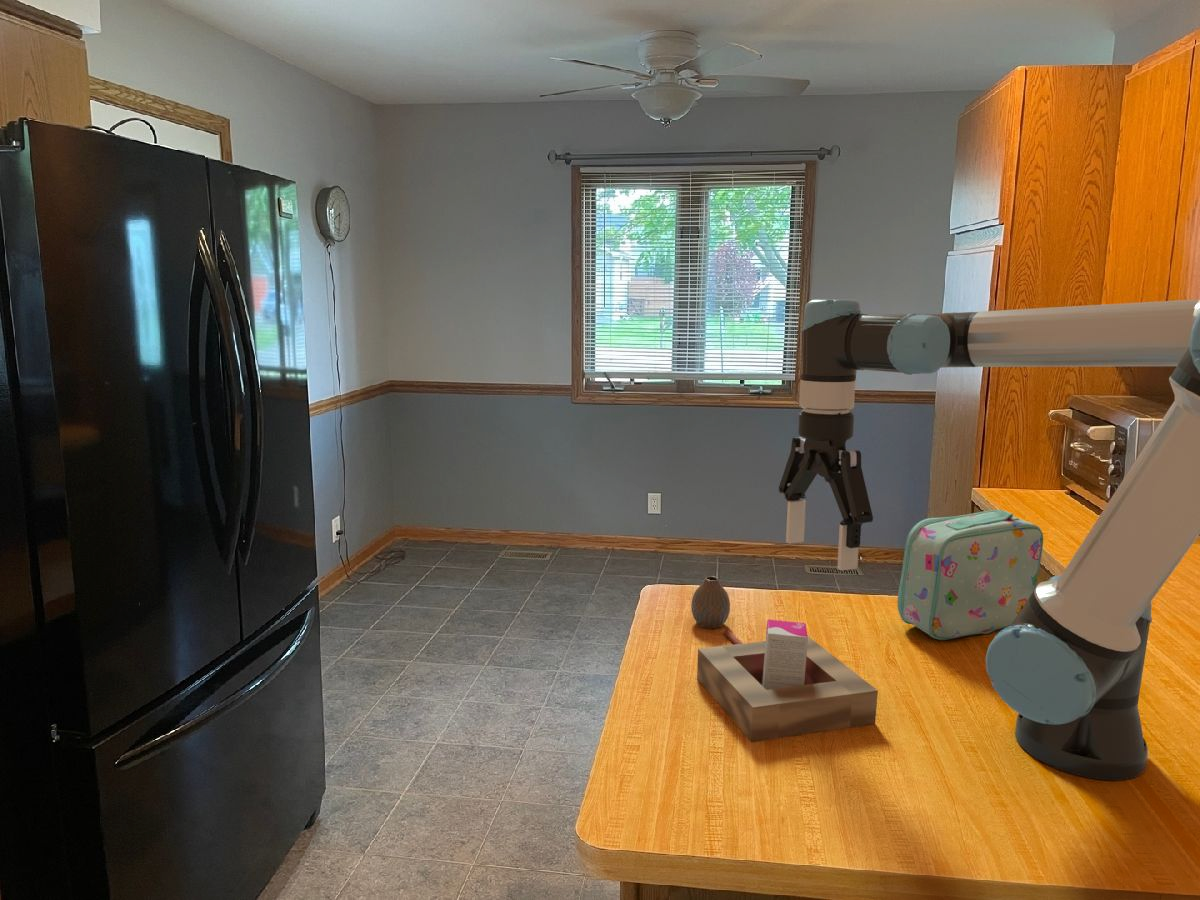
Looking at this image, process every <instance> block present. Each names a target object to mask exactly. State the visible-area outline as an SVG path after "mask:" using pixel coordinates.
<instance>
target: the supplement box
mask: <svg viewBox="0 0 1200 900" xmlns="http://www.w3.org/2000/svg"><path fill="white" fill-rule="evenodd" d="M765 631H766V632H765V633H766V634H765V641H766V643H765V657H764V668H763V681H762V684H761V685H762V686H763V687H764V688H765V689H766V690H770V689H778V688H786V687H793V686H801V685H804V680H805V669H806V655H807V643H808V631H807V625H806V623H805V622H797V621H784V620H777V619H767V621H766V630H765Z"/></svg>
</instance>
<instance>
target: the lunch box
mask: <svg viewBox="0 0 1200 900" xmlns="http://www.w3.org/2000/svg"><path fill="white" fill-rule="evenodd" d="M1043 546H1044V533H1043V531H1042V529H1041V528H1040V527H1039V526H1038V524H1037V525H1036V524H1034V523H1032V522H1030V521H1027V520H1024V519H1020V518H1019V517H1016V516H1014V513H1011V512H1009V511H1006V510H1004V509H999V510H998V509H996V510H995V509H994V510H990V509H989V510H984V511H983V510H982V511H979V512H974V513H968V514H963V515H961V514H960V515H955V516H953V515H952V516H945V517H943V516H942V517H930V518H929V517H927V518H925V519H922V520H920V521H919V522H917V523H915V525H914V526H913V527H911V529H910V531H909V533H908V534H907V537H906V539H905V543H904V553H903V560H902V569H901V573H900V581H899V587H898V593H897V611H898V615H899V616H900V618H901V621H902V622H903V623H905V624H907V625H913V626H914V627H916V628H918V630H919V629H920V630H921V631H922V632H924V633H925V634H927V635H928V636H929V637H931V638H933V639H936V640H940V641H946V640H951V639H955V638H956V639H957V638H960V637H961V638H962V637H966V636H971V635H981V634H982V635H987V634H990V633H992V632H994V631H996V630H1002V629H1004V628H1007V627H1009V626H1010V625H1011V624H1012V623H1013V622H1014V620H1015V619H1016V617H1017V616H1018V614H1019V613H1020V611H1021V609H1022V608H1023V606H1024V605H1025V603H1026V602H1027V600H1028V599H1029V597H1030V596H1031V594H1032V592H1033V591H1034V589H1035V588H1036V586H1037V585H1038V579H1039V572H1040V567H1041V561H1042V555H1043V554H1042V553H1043V548H1044V547H1043Z"/></svg>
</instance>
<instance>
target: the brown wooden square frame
mask: <svg viewBox="0 0 1200 900" xmlns="http://www.w3.org/2000/svg"><path fill="white" fill-rule="evenodd" d="M742 643H743V642H742ZM765 643H766V640H764V641H754V642H746V643H745V642H744V643H743V644H735V643H734V644H727V645H718V646H717V645H716V646H708V647H700V648H697V665H696V666H697V667H696V670H697V671H696V679H697V681H699V683H700V684H701V685H702V686H703V688H704V689H705V690H706V691H707V692H708V693H709V695H710V696H711V697H712V698H713V699H714V701H716V703H717V704H718V705H719V707H720V708H721V709H722V710H723V711H724V712H725V713H726V714H727V715H728V717H729V718H730V719H731V720H732V722H733V723H734V724H735V725H736V726H737V727H738V728H739V730H740V732H742V733H743V734H744V735H745V737H746V738H747V739H748V741H750V742H751V743H752V742H760V741H765V740H773V739H780V738H787V737H793V736H800V735H806V734H814V733H820V732H821V733H822V732H827V731H828V732H829V731H834V730H841V729H848V728H855V727H862V726H868V725H875V724H876V719H877V705H878V694H879V693H878V691H879V690H878V689H877V688H875V687H874V686H873V685H872V684H870V683H868V681H867V680H866V679H864V678H862V677H861V676H860V675H858V674H857V672H855V671H853V670H852V669H851V668H850V667H848V666H847V665H846V664H845V663H843V662H842V661H841V660H839V659H838V658H837V657H835V655H833V654H832V653H831V652H829V651H828V650H827V649H826V648H824V647H823V646H821V645H820V644H819V642H818V643H817V642H816V641H815V640H814V639H812V638H811V637H810V636H808V643H807V655H806V669H805V680H804V685H801V686H793V687H786V688H778V689H770V690H766V689H765V688H764V687H763V686H762V681H763V668H764V657H765Z"/></svg>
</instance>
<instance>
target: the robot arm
mask: <svg viewBox="0 0 1200 900" xmlns="http://www.w3.org/2000/svg"><path fill="white" fill-rule="evenodd" d="M978 367H979V368H980V367H981V368H983V367H984V368H989V367H991V368H992V367H993V368H994V367H995V368H998V367H999V368H1005V367H1006V368H1009V367H1011V368H1012V367H1015V368H1017V367H1020V368H1021V367H1024V368H1025V367H1027V368H1028V367H1033V368H1034V367H1036V368H1037V367H1041V368H1043V367H1051V368H1052V367H1053V368H1055V367H1060V368H1061V367H1067V368H1068V367H1175V368H1174V370H1173V371H1172V373H1171V375H1170V376H1169V378H1168V381H1169V384H1170V386H1171V389H1172V392H1173V394H1174V401H1173V403H1172V404H1171V405H1170V406H1169V409H1168V410H1167V411H1166V413H1165V415H1164V417H1162V420H1161V421H1160V422H1159V423H1158V426H1157V427H1156V429H1155V430H1154V431H1153V433H1152V434H1151V436H1150V438H1149V439H1148V441H1147V443H1145V445H1144V447H1143V449H1142V450H1141V452H1140V453H1139V454H1138V457H1136V459H1135V461H1134V462H1133V464H1132V466H1131V467H1130V468H1129V470H1128V471H1127V473H1126V474H1125V476H1124V477H1123V479H1122V481H1121V482H1120V484H1119V486H1117V489H1116V490H1115V492H1113V494H1112V496H1111V498H1110V499H1109V501H1108V502H1107V504H1106V506H1105V507H1104V508H1103V510H1102V512H1101V513H1100V514H1099V516H1098V517H1097V519H1096V521H1095V522H1094V524H1093V525H1092V527H1091V529H1090V530H1089V532H1087V535H1086V536H1085V537H1084V539H1083V541H1082V543H1081V544H1080V546H1079V547H1078V548H1077V550H1076V552H1075V553H1074V554H1073V556H1072V558H1071V559H1070V561H1069V563H1068V564H1067V565H1066V567H1065V568H1064V570H1063V572H1062V573H1061V574H1059V575H1054V576H1052V577H1050V578H1049V579H1048V580H1046V581H1042V582H1039V583H1037V584H1036V588H1035V589H1034V591H1033V592H1032V594H1031V596H1030V597H1029V599H1028V600H1027V602H1026V603H1025V605H1024V606H1023V608H1022V609H1021V611H1020V613H1019V614H1018V616H1017V617H1016V619H1015V620H1014V622H1013V623H1012V624H1011V625H1010V626H1009V627H1006V628H1002V629H1000V631H999V632H998V633H996V635H995V636H994V637H993V640H991V642H990V644H989V645H988V647H987V651H986V655H985V667H986V669H985V670H986V672H987V675H988V676H989V680H990V682H991V686H992V688H993V689H994V691H995V692H996V694H997V695H998V697H1000V699H1001V700H1002V701H1003V702H1004V703H1005V704H1006V705H1007V706H1008V707H1009V708H1011V709H1012V710H1013V711H1015V712H1016V713H1018V715H1017V717H1016V721H1015V728H1014V729H1015V730H1014V731H1015V732H1014V737H1015V739H1016V742H1017V743H1018V745H1020V747H1021V748H1022V749H1023V750H1024V751H1025V752H1027V753H1028V754H1029V755H1030V756H1032V757H1034V758H1035V759H1037V760H1039V761H1040V762H1042V763H1044V764H1046V765H1048V766H1051V767H1052V768H1054V769H1057V770H1060V771H1063V772H1066V773H1069V774H1072V775H1076V776H1080V777H1083V778H1084V777H1085V778H1089V779H1096V780H1103V781H1122V780H1123V781H1125V780H1129V779H1130V780H1131V779H1134V778H1137V777H1139V776H1140V775H1143V772H1144V771H1145V770H1146V767H1147V761H1148V754H1149V751H1148V745H1147V741H1146V739H1145V738H1144V734H1143V727H1142V722H1141V721H1142V720H1141V717H1140V711H1139V708H1138V707H1139V698H1140V693H1141V692H1140V691H1141V686H1142V678H1143V673H1144V672H1143V671H1144V667H1145V666H1144V665H1145V659H1146V653H1147V647H1148V646H1147V645H1148V639H1149V632H1150V625H1151V623H1153V617H1152V601H1153V599H1154V598H1155V597H1156V595H1157V594H1158V593H1159V591H1160V590H1161V588H1162V587H1163V585H1164V584H1165V582H1166V581H1167V580H1168V579H1169V578H1170V576H1171V575H1172V573H1173V571H1174V570H1176V568H1177V566H1178V565H1179V563H1180V562H1181V561H1182V559H1183V558H1184V557H1185V555H1186V554H1187V553H1188V551H1189V550H1190V548H1191V547H1192V546H1193V545H1194V543H1195V541H1196V540H1197V539H1198V537H1199V536H1200V298H1198V299H1197V298H1196V299H1181V300H1180V299H1179V300H1167V301H1166V300H1162V301H1161V300H1160V301H1148V302H1147V301H1144V302H1142V301H1141V302H1129V303H1128V302H1127V303H1126V302H1125V303H1109V304H1108V303H1107V304H1106V303H1105V304H1094V305H1093V304H1092V305H1091V304H1090V305H1089V304H1088V305H1077V306H1076V305H1073V306H1056V307H1055V306H1053V307H1039V308H1038V307H1037V308H1021V309H1019V308H1018V309H1006V310H1005V309H1004V310H1003V309H1001V310H986V311H985V310H983V311H973V312H972V311H969V312H968V311H967V312H943V313H907V314H904V313H902V314H899V313H898V314H897V313H895V314H889V313H888V314H885V313H884V314H868V313H865V314H864V313H861V305H860V303H859V301H858V300H857V299H812V300H810V301H808V302H807V303H806V304H805V306H804V311H803V323H802V329H801V373H800V379H799V381H800V382H799V404H798V406H799V407H800V408H801V409H802V410H801V411H800V412H799V413H798V430H797V431H798V433H797V434H798V435H799V436H796V437H792V439H791V449H790V453H789V455H788V459H787V462H786V465H785V468H784V470H783V474H782V476H781V480H780V482H779V485H778V492H779V494H784V499H785V500H786V528H785V529H786V530H785V531H786V532H785V534H786V535H785V543H786V544H790V545H791V544H798V543H804V542H805V530H806V529H805V526H806V505H807V504H806V503H807V502H806V500H805V499H807V496H806V492H807V491H808V489H809V487H810V486H811V484H812V483H813V481H814V479H815V478H816V476H817V475H819V476H820V477H822V478H823V479H824V481H825V482H827V483H828V484H829V486H830V488H831V491H832V494H833V497H834V499H835V501H836V503H837V507H838V509H839V512H840V514H841V517H842V520H841V521H840V522H839V531H838V546H837V547H838V549H837V567H836V568H837V570H839V571H846V570H847V571H848V570H855V569H858V567H859V566H858V564H859V549H860V546H861V536H862V535H861V534H862V525H863V524H866V523H872V522H873V520H874V515H873V513H872V507H871V504H870V503H871V502H870V498H869V494H868V490H867V485H866V481H865V477H864V472H863V470H862V452H861V451H860V450H859V449H858V450H847V446H846V443H847V441H848V440H850V439H852V438H853V437H854V422H855V414H854V413H853V411H850V410H853V409H854V408H855V398H856V397H855V394H856V393H855V392H856V380H857V371H874V372H887V373H898V374H899V373H901V374H904V375H910V376H911V375H920V374H921V375H922V374H923V375H924V374H925V375H927V374H928V375H930V374H934V373H937V372H939V370H940V369H942V368H978Z"/></svg>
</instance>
